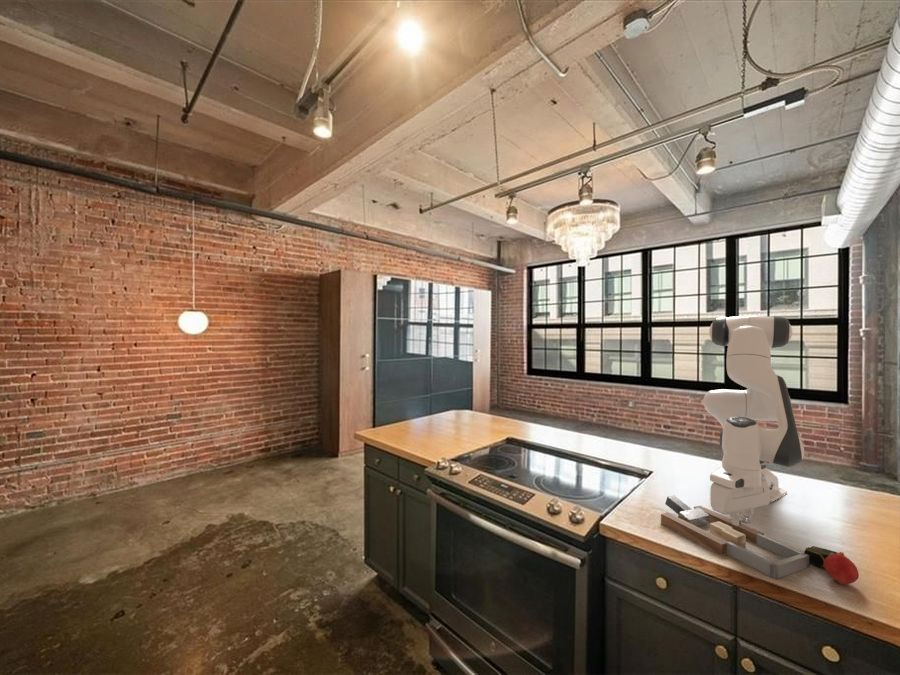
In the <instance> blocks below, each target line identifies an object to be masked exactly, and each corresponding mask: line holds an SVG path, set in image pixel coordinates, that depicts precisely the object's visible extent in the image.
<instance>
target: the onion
mask: <svg viewBox="0 0 900 675" xmlns="http://www.w3.org/2000/svg"><path fill="white" fill-rule="evenodd" d="M823 569H824V570H825V571H826V573H827V574H828V576H830V577H831V579H833V580H834V581H835V582H836V583H838V584H839V585H840V586H841V585H842V586H846V585H849V584H853V583H855V582H857V581H858V579H859V576H860V575H859V571H858V567H857V566H856V564H855V563H854V562H853V561H852V560H850V559H849V557H847V556H846V555H845V552H843V551H839V552H837V553H836V554H831V555H829V556H828V557H827V558H826V559H825V560H824V568H823Z"/></svg>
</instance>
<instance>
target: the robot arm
mask: <svg viewBox="0 0 900 675" xmlns="http://www.w3.org/2000/svg"><path fill="white" fill-rule="evenodd" d="M792 327H793V326H792V325H791V324H790V320H788V319H787V318H786V317H782V316H776V315H773V316H768V315H743V316H742V315H740V316H739V315H738V316H729V317H727V316H721V317H716V318H714V320H712V323H711V324H710V326H709V331H708V332H709V333H708V334H709V337H710V339H711V342H712V343H713V344H715V345H717V346H721V347H725V346H727V349H726V350H727V351H726V366H725V367H726V372H727V376H728V377H729V379H730V380H731V381H733V382H734V383H736V384H738V385H740V386H742V387H744V388H746V389H744V390H743V389H741V390H740V389H726V388H725V389H724V388H721V389H714V390H713V389H711V390H708V391H707V392H706V393H705V395H704V396H703V398H702V399H703V400H702V403H703V408H704V409H705V411H706V412H707V413H708V414H709V415H711V416H712V417H713V418H714V419H715V420H717V421H718V423H719V424H720V425H721V428H722V429H721V430H720V431H719V447H720V448H721V450H722V451H723V457H722V459H721V466H719V467H718V468H717V469H716V470H715V471H713V472H711V473H710V474H709V480H710V482H712V483H711V485H710V492H709V496H710V498H709V500H710V507H711V508H712V511H714V512H716V513H719V514H721V515H723V516H725V515H729V516H730V519H731V521H732V524H733V525H735V526H740V525H742V524H744V525H748V524H750V523H751V522H752V521H751V520H752V517H753V514H754V512H755V508H759V507H760V508H761V507H765V506H768V505H769V504H770V503H773V501H774V502H775V500H776V501H777V499H778V498H779V499H781V498H782V497H781V496H783V495H784V494H786V493H787V494H788V492H787V490H785V489H783V488H781V487H779V478H778V476H777V475H776V474H774V473H773V472H772V471H770V470H769V469H768V467H767V464H770V463H771V464H775V465H779V466H784V467H787V468H791V467H794V466H795V465H799V464H800V463H802V462H803V459H804V457H805V447H804V444H803V441H802V438H801V437H800V435H799V432H798V429H797V422H796V419H795V414H794V409H793V406H792V400H791V396H790V394H789V391H788V387H787V383H786V381H785V379H784V378H783V377H782V376H780V375H778V374H776V372H775V371H774V369H773V367H772V362H771V361H772V359H771V356H772V355H771V348H773V349H775V348H781V347H784V346H786V345H788V343H789V341H790V340H791V338H792V335H793V328H792ZM757 421H761V422H763V421H764V422H777V426H778V427H777V428H769V427H768V428H767V427H761V426H760V427H759V423H758V422H757ZM787 494H786V495H787ZM784 496H785V495H784ZM784 496H783V497H784ZM780 497H781V498H780ZM779 499H778V500H779ZM740 512H742V514H741V515H740ZM739 515H740V516H739ZM741 523H742V524H741Z"/></svg>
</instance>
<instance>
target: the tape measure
mask: <svg viewBox="0 0 900 675" xmlns="http://www.w3.org/2000/svg"><path fill="white" fill-rule="evenodd" d="M803 553H805V554H807V555H809V564H810V563H811V564H812V565H815V566H817V567H821V568H823V569H825V568H824V560H825V559H826V558H827V557H828V556H829V555H831V554H836V553H838V552H837V551H834V550H831V549H827V548H823V547H819V546H816V545H812V546H811V547H810V546H808V547H805V550H804V551H803Z"/></svg>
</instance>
